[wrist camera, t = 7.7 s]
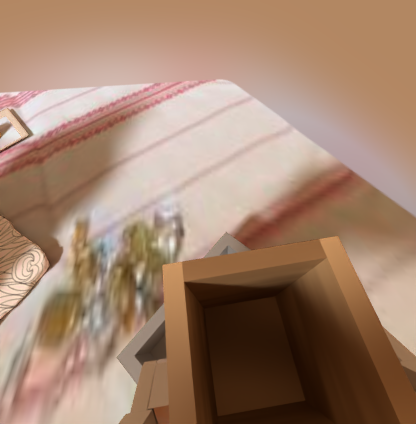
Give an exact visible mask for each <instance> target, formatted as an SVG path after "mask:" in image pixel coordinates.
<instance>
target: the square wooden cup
mask: <svg viewBox="0 0 416 424" xmlns="http://www.w3.org/2000/svg"><path fill="white" fill-rule="evenodd" d="M163 287H164V309H165V332H166V355H167V377H168V400H169V422H170V424H416V394H415V392H414V389H413V387H412V385H411V383H410V381H409V379H408V377H407V375H406V373H405V371H404V369H403V367H402V365H401V363H400V361H399V359H398V357H397V355H396V353H395V351H394V349H393V347H392V345H391V343H390V341H389V339H388V337H387V335H386V333H385V331H384V329H383V327H382V325H381V323H380V320H379V318H378V316H377V314H376V312H375V310H374V308H373V306H372V304H371V302H370V300H369V298H368V296H367V294H366V292H365V290H364V288H363V286H362V284H361V282H360V280H359V278H358V276H357V274H356V272H355V270H354V268H353V266H352V264H351V262H350V260H349V258H348V256H347V253H346V251H345V249H344V247H343V245H342V243H341V241H340V239H339V237H338V236H334V237H328V238H322V239H316V240H310V241H304V242H298V243H292V244H286V245H280V246H274V247H268V248H262V249H256V250H250V251H244V252H238V253H232V254H226V255H220V256H214V257H208V258H202V259H196V260H190V261H184V262H178V263H172V264H166V265H163Z"/></svg>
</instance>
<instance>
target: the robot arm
mask: <svg viewBox="0 0 416 424" xmlns="http://www.w3.org/2000/svg"><path fill="white" fill-rule="evenodd" d="M383 329H384V331H385V333H386V335H387V337H388V339H389V341H390V343H391V345H392V347H393V349H394V351H395V353H396V355H397V357H398V359H399V361H400V363H401V365H402V367H403V369H404V371H405V373H406V375H407V377H408V379H409V381H410V383H411V385H412V387H413V389H414V392H415V394H416V356H415V355H414V354H413V353H411V352H410V351H409V350H408V349H407V348H406V347H405V346H404V345H402V344H401V343H400V342H399V341H398V340H397V339H396V338H395V337H394V336H392V335H391V334H390V333H389V332H388V331H387V330H386V329H385V328H384V327H383ZM119 424H170V422H169V400H168V377H167V358H166V359H159V360H154V361H148V362H144V364H143V366H142V368H141V372H140V376H139V380H138V384H137V388H136V392H135V396H134V400H133V404H132V408H131V412H130V413H129V414H126V415H125V416H124V417H123V419H122V420H121V421H120V423H119Z"/></svg>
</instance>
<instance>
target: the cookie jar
mask: <svg viewBox="0 0 416 424" xmlns="http://www.w3.org/2000/svg"><path fill="white" fill-rule="evenodd" d="M48 267H49V261H48V259H47V257H46V255H45V254H44V252H43V251H42V250H41V248H40V247H39V246H38V245H37V244H35V243H33V242H32V241H30V240H29V239H27V238H26V237H25V236H22V235H21V234H20V233H19V232H18V231H17V230H16V229H14V228H13V226H12V224H11V222H9V221H8V220H7V219H5V218H4V217H2V216H1V215H0V319H1V318H2V317H3V316H4V315H5V314H6V313H7V312H9V311H10V310H11V309H13V308H14V307H15V306H16V305H17V304H18V303H19V302H20V300H22V299H23V298H24V297H25V296H26V294H27V293H28V292H29V291H30V290H31V288H32V287H33V286H34V285H35V284H36V282H37V281H38V280H39V279H40V278H41V277H42V275H43V274H44V273H45V272H46V270H47V269H48Z"/></svg>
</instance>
